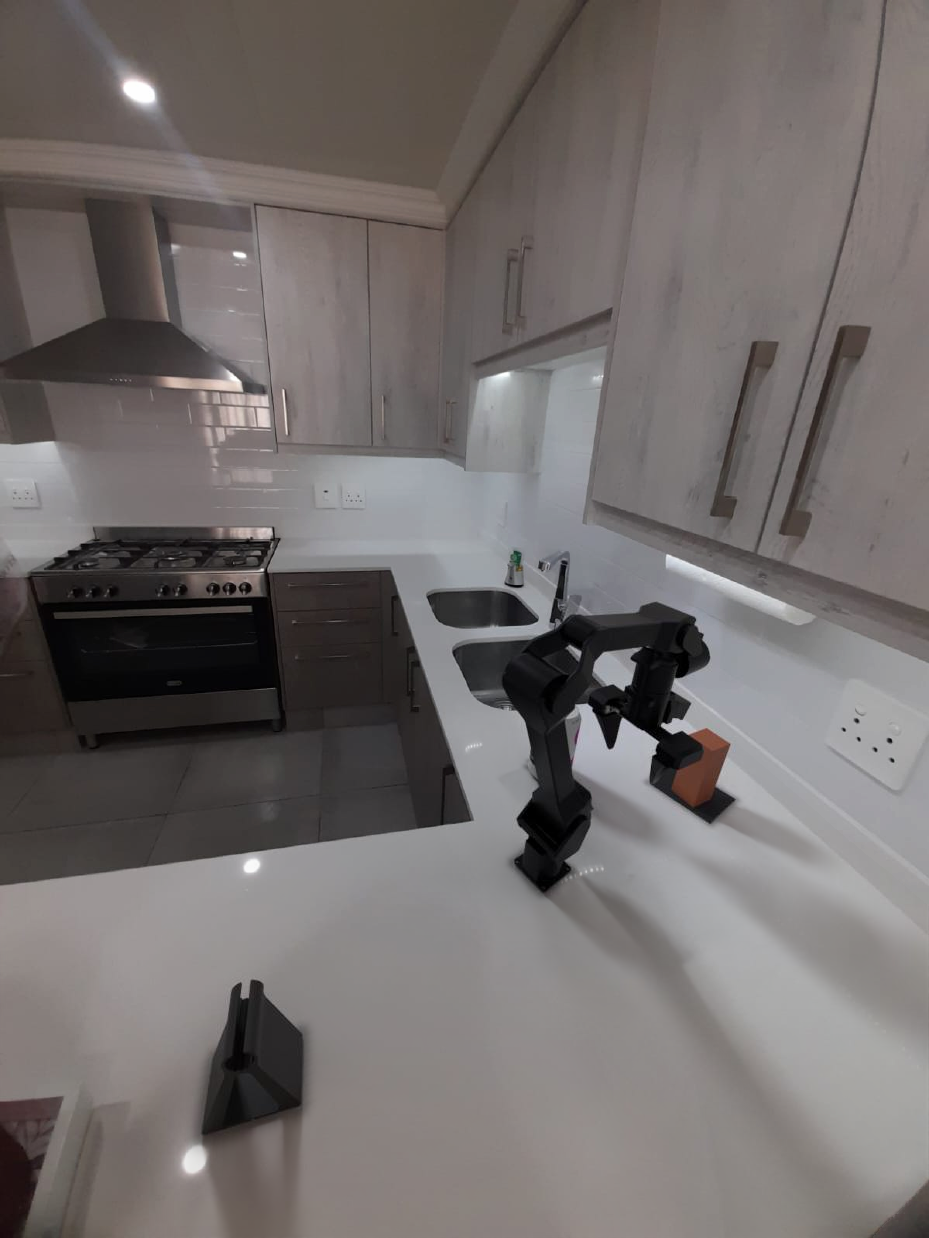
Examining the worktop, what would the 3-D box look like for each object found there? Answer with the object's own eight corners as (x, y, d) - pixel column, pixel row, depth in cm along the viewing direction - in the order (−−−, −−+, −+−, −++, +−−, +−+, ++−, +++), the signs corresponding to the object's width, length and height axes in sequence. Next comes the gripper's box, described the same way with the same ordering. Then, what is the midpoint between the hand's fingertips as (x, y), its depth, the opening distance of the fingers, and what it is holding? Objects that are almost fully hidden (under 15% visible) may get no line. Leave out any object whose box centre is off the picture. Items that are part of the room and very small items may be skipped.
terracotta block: (693, 807, 89) (712, 751, 83) (670, 789, 93) (688, 734, 87) (710, 799, 91) (731, 743, 86) (688, 782, 95) (706, 727, 90)
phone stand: (303, 1036, 54) (294, 969, 49) (301, 1105, 48) (291, 1038, 43) (213, 1059, 51) (195, 991, 46) (201, 1135, 46) (179, 1068, 41)
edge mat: (709, 823, 86) (710, 823, 86) (649, 783, 94) (649, 782, 94) (735, 799, 92) (735, 798, 92) (676, 763, 100) (676, 762, 100)
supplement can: (567, 760, 99) (579, 697, 92) (571, 789, 91) (585, 723, 85) (527, 755, 99) (537, 693, 93) (528, 784, 92) (538, 718, 86)
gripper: (740, 704, 71) (711, 786, 77) (641, 648, 85) (623, 721, 92) (690, 723, 65) (663, 810, 72) (593, 660, 80) (578, 737, 86)
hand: (630, 764), depth 80 cm, fingers open, 9 cm apart
